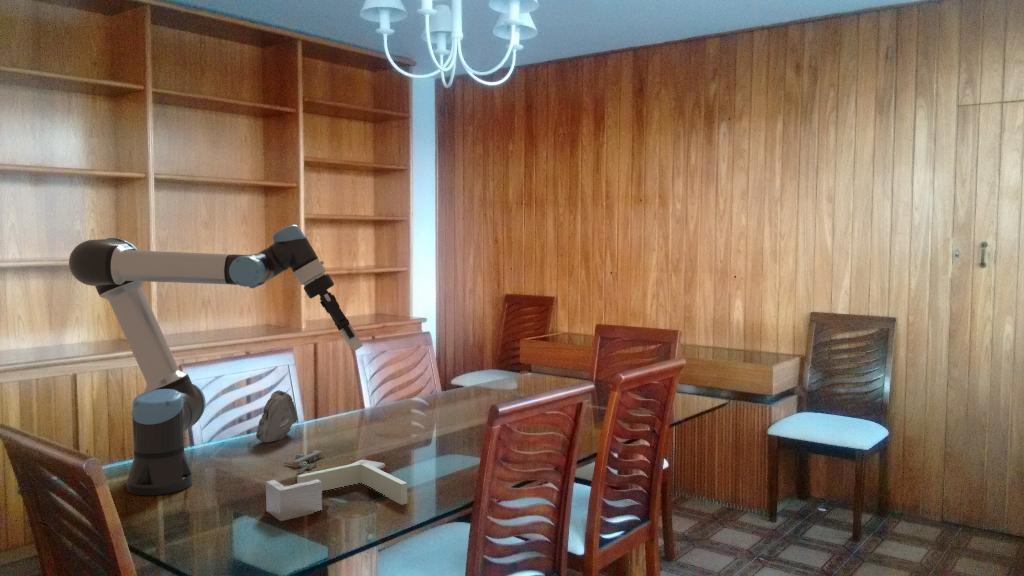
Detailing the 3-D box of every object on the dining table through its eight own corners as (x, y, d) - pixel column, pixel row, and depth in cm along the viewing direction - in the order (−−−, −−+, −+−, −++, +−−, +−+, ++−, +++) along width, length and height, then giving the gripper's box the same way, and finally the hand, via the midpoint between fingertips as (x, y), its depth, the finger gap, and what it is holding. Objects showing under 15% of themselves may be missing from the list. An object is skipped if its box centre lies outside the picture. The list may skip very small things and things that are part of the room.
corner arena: (338, 521, 179) (337, 499, 179) (297, 495, 195) (297, 475, 195) (407, 503, 190) (407, 482, 190) (363, 480, 207) (363, 461, 206)
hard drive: (357, 476, 207) (385, 462, 218) (331, 471, 211) (360, 458, 222) (357, 482, 207) (385, 468, 219) (331, 477, 211) (360, 464, 222)
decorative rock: (285, 432, 253) (284, 385, 251) (302, 434, 250) (302, 386, 249) (250, 445, 238) (249, 395, 236) (268, 448, 235) (267, 397, 234)
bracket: (280, 521, 179) (280, 490, 178) (266, 510, 185) (265, 481, 184) (322, 511, 185) (321, 481, 185) (307, 501, 191) (306, 472, 191)
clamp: (306, 448, 229) (335, 452, 225) (306, 455, 229) (335, 460, 225) (270, 462, 216) (300, 467, 211) (270, 470, 216) (300, 475, 212)
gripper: (329, 269, 202) (373, 341, 204) (325, 274, 226) (365, 338, 228) (302, 285, 200) (347, 357, 202) (301, 288, 224) (341, 352, 226)
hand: (356, 347), depth 215 cm, fingers open, 13 cm apart
